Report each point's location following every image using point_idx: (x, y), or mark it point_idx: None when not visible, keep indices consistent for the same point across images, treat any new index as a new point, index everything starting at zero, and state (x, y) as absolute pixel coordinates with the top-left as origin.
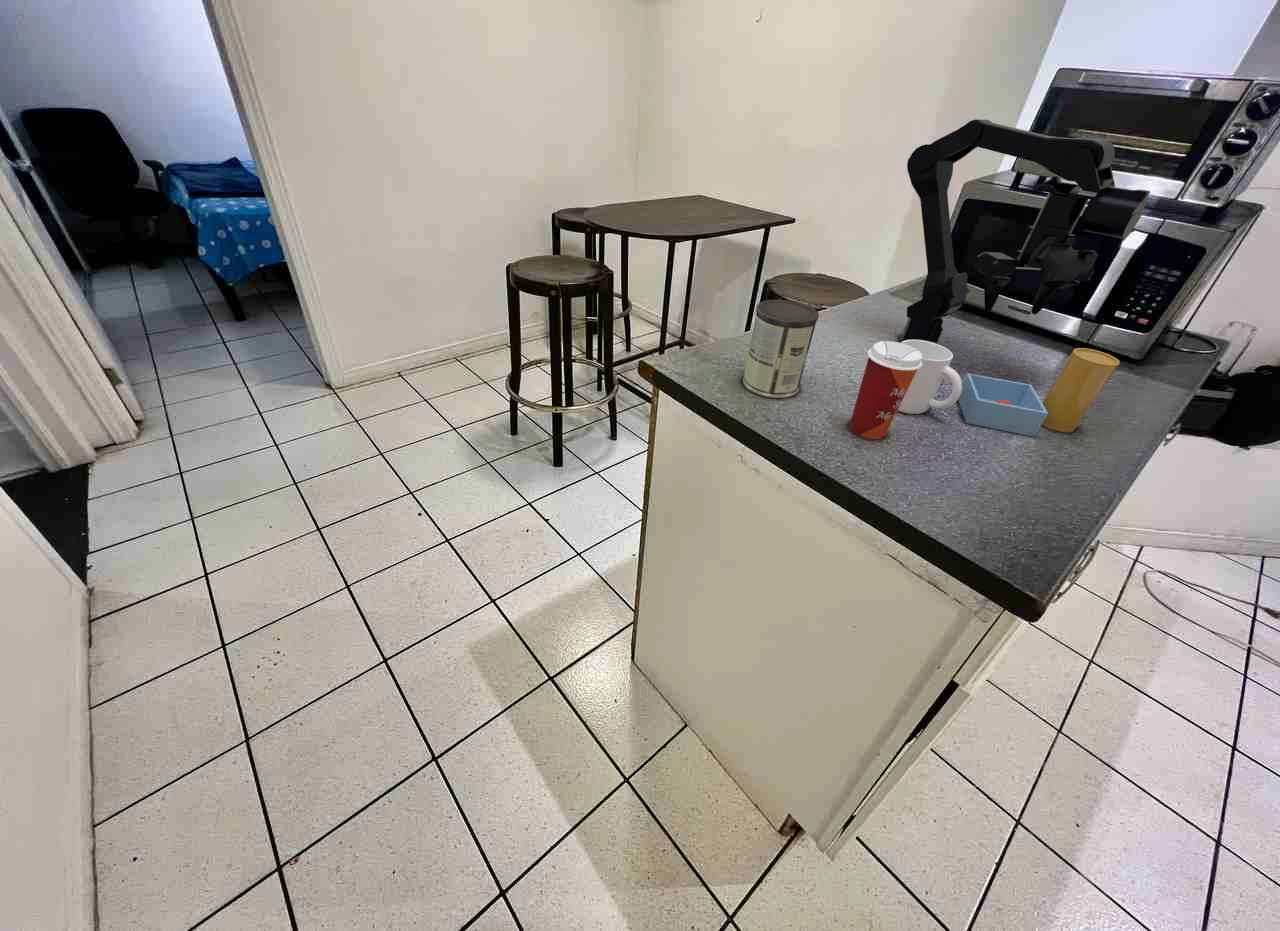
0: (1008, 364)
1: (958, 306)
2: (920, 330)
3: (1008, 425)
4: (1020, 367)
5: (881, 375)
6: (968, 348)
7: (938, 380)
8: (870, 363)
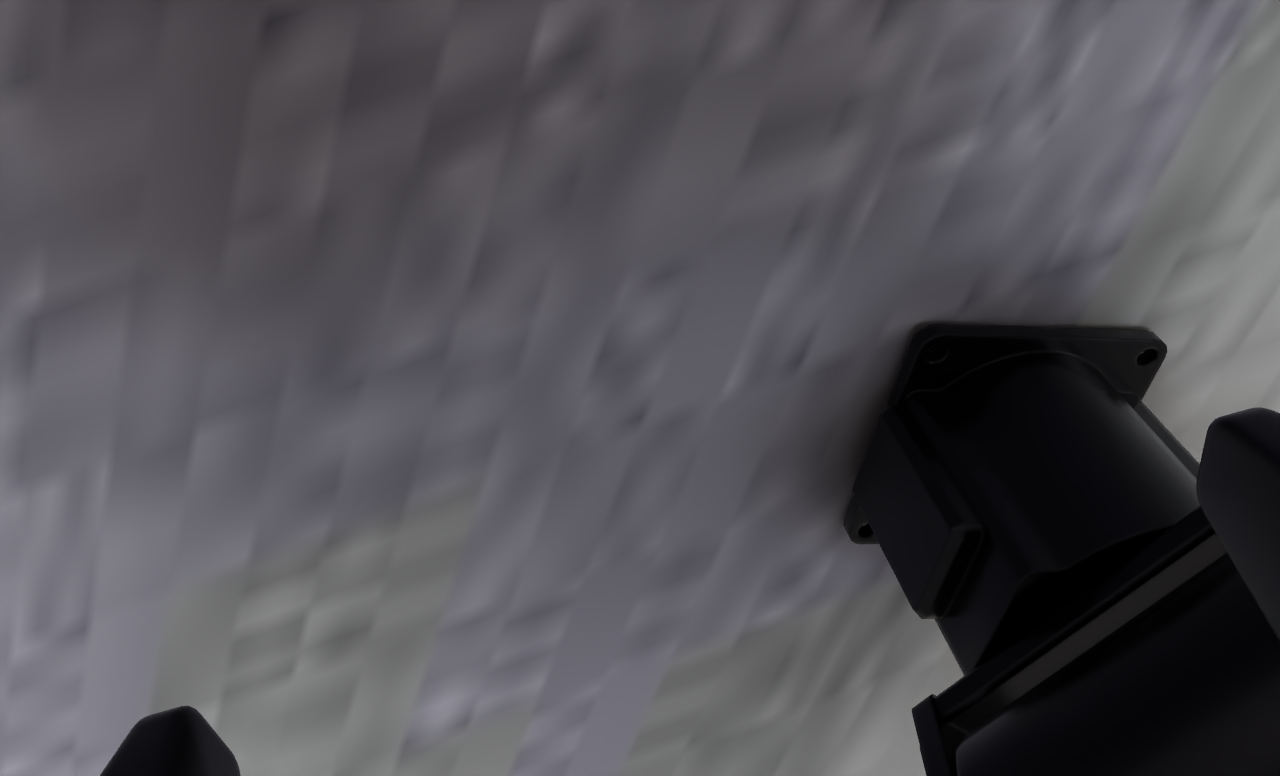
0: (203, 332)
1: (1035, 754)
2: (1156, 454)
3: None
4: (76, 307)
5: None
6: (531, 524)
7: None
8: None
